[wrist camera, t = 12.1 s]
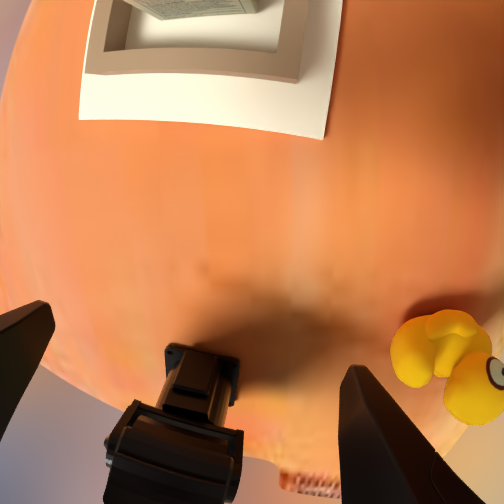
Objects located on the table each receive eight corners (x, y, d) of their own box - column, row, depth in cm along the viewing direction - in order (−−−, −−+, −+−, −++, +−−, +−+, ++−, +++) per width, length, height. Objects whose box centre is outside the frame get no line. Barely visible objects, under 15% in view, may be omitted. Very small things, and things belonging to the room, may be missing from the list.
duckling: (497, 305, 21) (553, 381, 12) (472, 351, 23) (512, 430, 14) (394, 290, 21) (441, 394, 12) (371, 345, 24) (396, 449, 15)
